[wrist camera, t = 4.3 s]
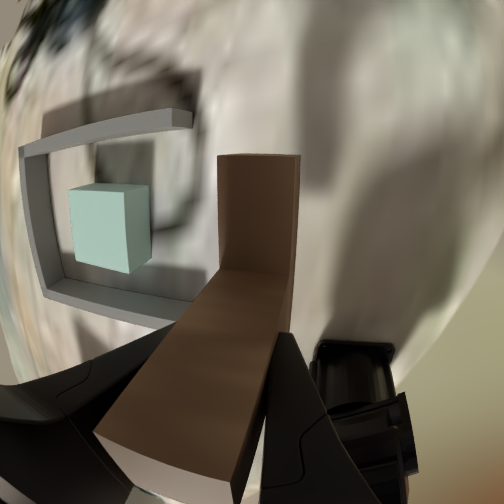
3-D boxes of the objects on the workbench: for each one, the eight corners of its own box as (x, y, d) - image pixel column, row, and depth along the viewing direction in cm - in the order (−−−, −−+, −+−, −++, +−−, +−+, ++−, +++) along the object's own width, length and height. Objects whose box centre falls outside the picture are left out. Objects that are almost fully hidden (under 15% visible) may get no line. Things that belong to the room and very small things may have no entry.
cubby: (192, 112, 18) (171, 107, 15) (202, 315, 23) (188, 336, 20) (40, 144, 21) (18, 147, 19) (61, 285, 27) (43, 296, 24)
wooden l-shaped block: (300, 155, 11) (202, 190, 2) (286, 356, 14) (240, 539, 5) (241, 153, 11) (3, 198, 2) (242, 350, 15) (169, 519, 6)
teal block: (150, 184, 20) (123, 192, 17) (152, 256, 23) (129, 274, 19) (96, 182, 22) (68, 190, 18) (100, 246, 24) (75, 260, 21)
